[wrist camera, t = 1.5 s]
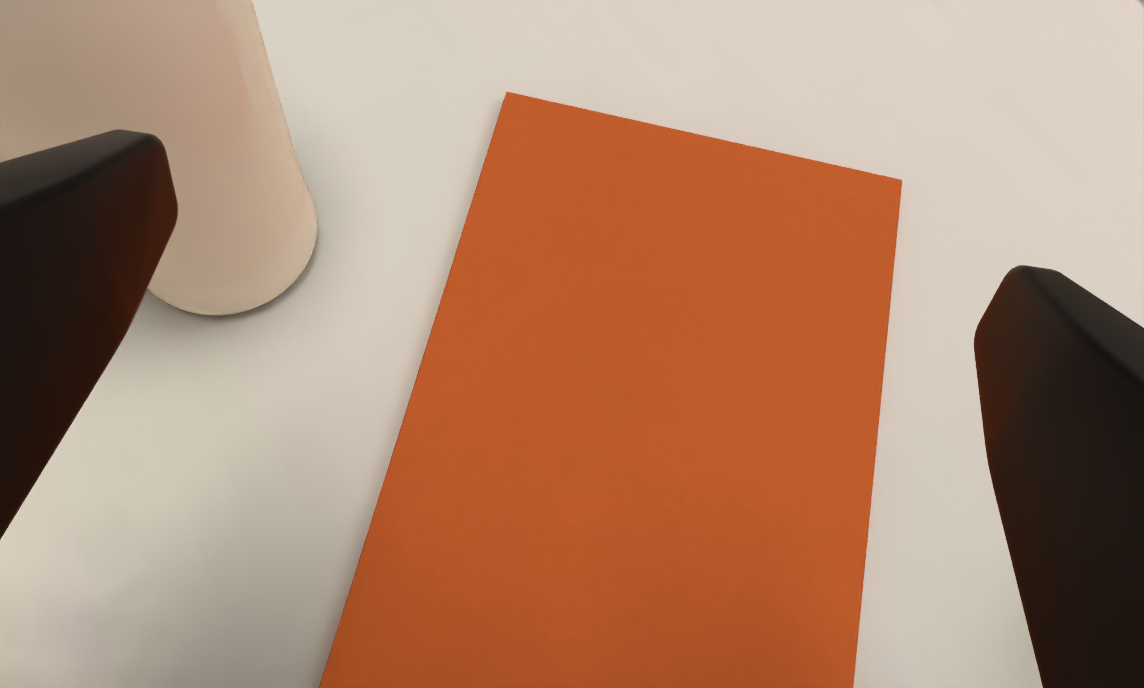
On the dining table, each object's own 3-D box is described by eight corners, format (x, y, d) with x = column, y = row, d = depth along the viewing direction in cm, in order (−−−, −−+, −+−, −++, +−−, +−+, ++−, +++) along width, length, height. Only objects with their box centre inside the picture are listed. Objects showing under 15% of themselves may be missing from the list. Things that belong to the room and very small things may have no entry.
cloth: (819, 992, 19) (823, 997, 19) (269, 852, 20) (266, 855, 19) (898, 184, 27) (902, 179, 27) (506, 97, 28) (506, 91, 27)
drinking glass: (384, 282, 25) (210, -207, 11) (161, 387, 24) (-365, -27, 10) (292, 112, 27) (48, -484, 13) (81, 199, 26) (-450, -371, 12)
